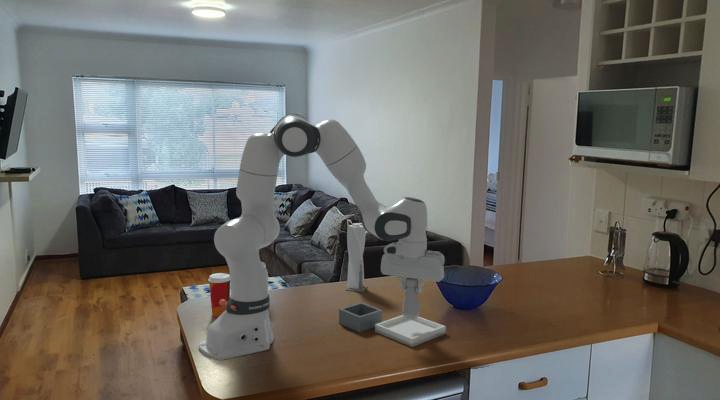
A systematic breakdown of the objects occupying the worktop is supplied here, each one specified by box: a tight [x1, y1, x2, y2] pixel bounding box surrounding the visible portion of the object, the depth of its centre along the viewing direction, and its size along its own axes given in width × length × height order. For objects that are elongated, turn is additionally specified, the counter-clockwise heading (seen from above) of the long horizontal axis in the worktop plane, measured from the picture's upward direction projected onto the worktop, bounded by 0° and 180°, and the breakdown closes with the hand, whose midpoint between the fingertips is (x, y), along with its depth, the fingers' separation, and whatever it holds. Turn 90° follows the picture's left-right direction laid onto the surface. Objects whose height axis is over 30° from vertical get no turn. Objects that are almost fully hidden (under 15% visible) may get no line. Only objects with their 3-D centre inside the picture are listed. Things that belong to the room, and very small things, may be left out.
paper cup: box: [207, 272, 231, 319], centre depth 190 cm, size 8×8×14 cm
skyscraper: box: [345, 219, 369, 293], centre depth 221 cm, size 8×8×28 cm
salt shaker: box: [401, 277, 421, 320], centre depth 175 cm, size 6×6×13 cm
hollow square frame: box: [338, 302, 383, 333], centre depth 184 cm, size 10×10×5 cm
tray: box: [374, 314, 447, 348], centre depth 177 cm, size 16×16×2 cm
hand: (411, 291), depth 175 cm, fingers closed on salt shaker, 3 cm apart
